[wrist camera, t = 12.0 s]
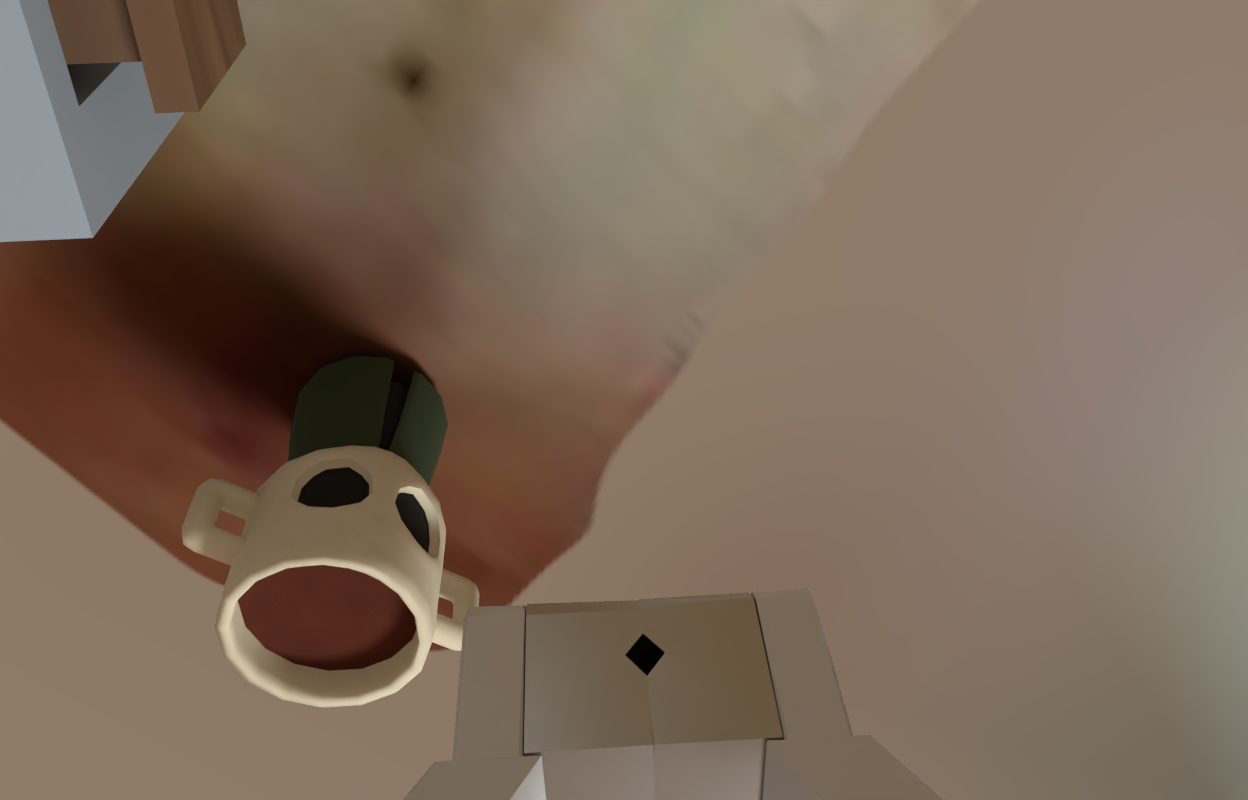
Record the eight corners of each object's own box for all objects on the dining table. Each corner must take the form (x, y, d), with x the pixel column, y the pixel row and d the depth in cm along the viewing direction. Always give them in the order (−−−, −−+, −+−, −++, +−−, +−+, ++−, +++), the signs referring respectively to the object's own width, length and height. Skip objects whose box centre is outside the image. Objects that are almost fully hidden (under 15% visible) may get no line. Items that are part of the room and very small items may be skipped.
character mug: (528, 404, 49) (523, 625, 38) (450, 516, 52) (425, 750, 41) (285, 289, 45) (204, 499, 34) (217, 418, 48) (123, 646, 37)
